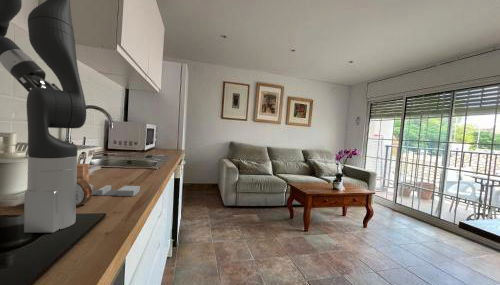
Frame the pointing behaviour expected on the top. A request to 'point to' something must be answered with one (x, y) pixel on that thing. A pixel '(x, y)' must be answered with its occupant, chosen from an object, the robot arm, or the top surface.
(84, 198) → the tin
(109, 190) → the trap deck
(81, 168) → the block
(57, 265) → the top surface
